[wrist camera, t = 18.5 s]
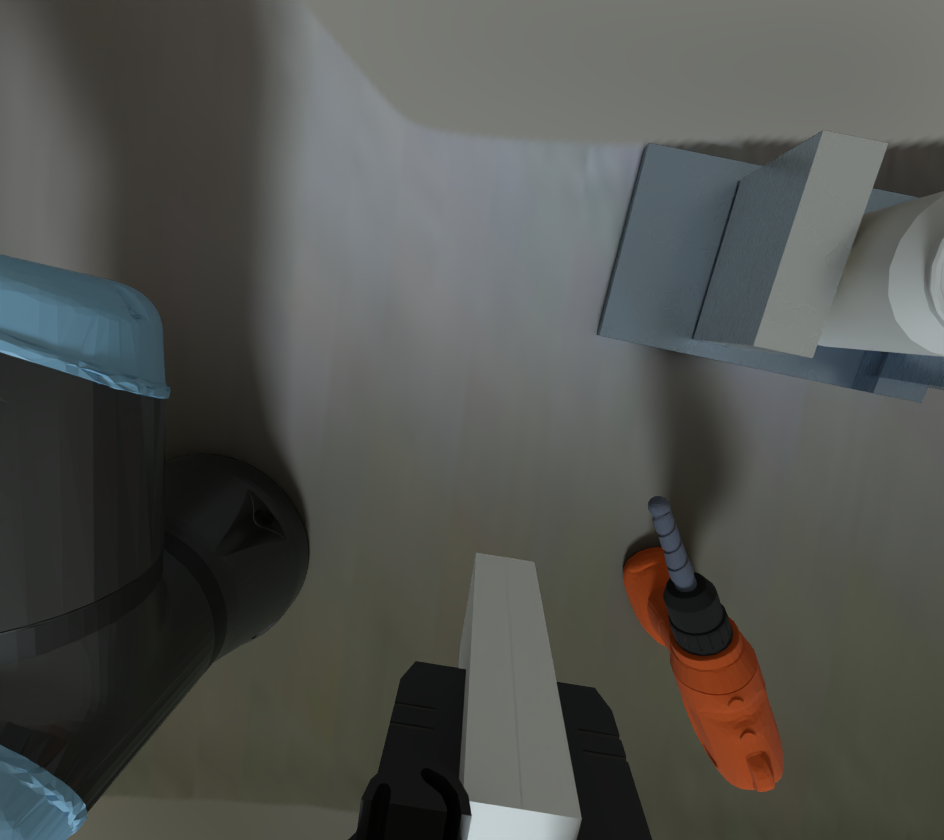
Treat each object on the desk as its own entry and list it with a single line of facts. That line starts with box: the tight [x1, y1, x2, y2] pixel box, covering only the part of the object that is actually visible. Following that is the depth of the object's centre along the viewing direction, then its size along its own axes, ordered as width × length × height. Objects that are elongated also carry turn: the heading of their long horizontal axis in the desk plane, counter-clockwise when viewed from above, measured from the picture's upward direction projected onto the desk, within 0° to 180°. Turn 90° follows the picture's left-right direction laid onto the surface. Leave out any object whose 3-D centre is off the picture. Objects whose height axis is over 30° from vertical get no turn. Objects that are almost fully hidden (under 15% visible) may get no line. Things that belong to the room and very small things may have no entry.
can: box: [818, 191, 944, 357], centre depth 26 cm, size 8×8×12 cm
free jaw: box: [693, 130, 888, 358], centre depth 28 cm, size 4×10×8 cm, turn 168°
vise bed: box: [597, 143, 944, 403], centre depth 28 cm, size 20×12×9 cm, turn 78°
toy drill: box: [623, 496, 783, 792], centre depth 29 cm, size 5×19×15 cm, turn 23°
